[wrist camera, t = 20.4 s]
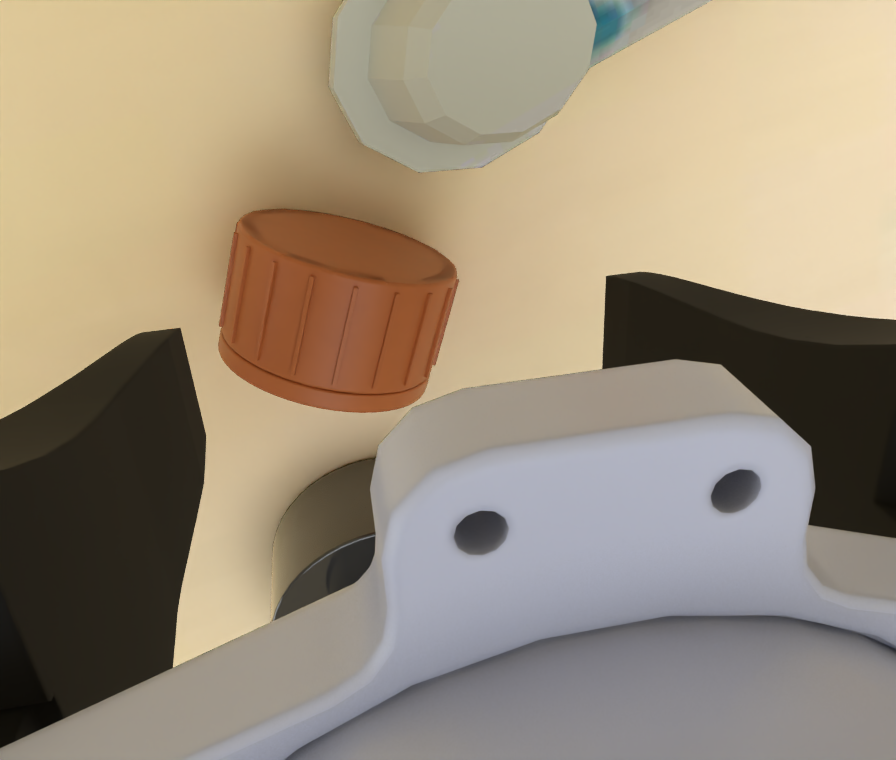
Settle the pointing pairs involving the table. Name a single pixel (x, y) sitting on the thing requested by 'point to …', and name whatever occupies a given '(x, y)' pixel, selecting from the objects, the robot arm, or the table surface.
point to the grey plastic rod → (472, 69)
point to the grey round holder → (324, 539)
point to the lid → (333, 310)
